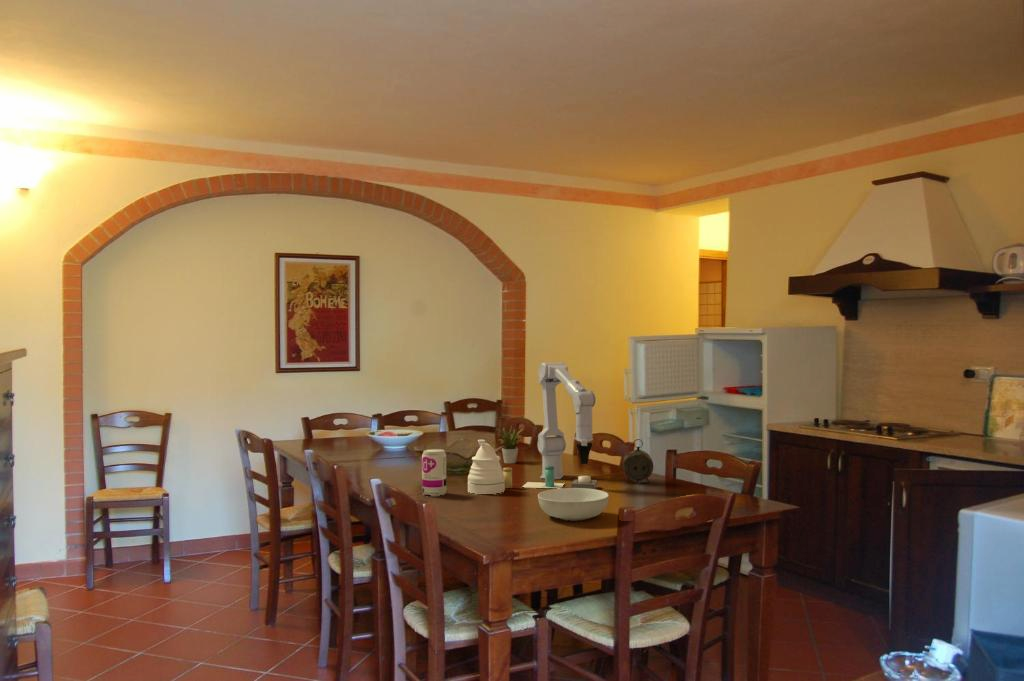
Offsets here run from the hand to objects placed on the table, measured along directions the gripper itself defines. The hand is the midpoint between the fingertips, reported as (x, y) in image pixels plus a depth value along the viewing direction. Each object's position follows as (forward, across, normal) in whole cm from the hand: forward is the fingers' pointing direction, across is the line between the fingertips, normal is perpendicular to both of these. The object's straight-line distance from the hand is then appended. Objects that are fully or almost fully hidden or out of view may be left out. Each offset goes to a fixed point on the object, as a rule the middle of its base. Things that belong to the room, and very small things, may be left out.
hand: (584, 463), depth 264 cm
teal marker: (+8, -2, -12) cm, 15 cm away
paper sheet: (+9, -4, -15) cm, 18 cm away
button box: (+9, 0, 0) cm, 9 cm away
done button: (+8, 0, 0) cm, 8 cm away
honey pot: (+9, +7, -34) cm, 36 cm away
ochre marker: (+9, +1, -27) cm, 29 cm away
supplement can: (+9, +14, -51) cm, 54 cm away
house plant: (+9, -56, -34) cm, 66 cm away
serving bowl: (+9, +44, -3) cm, 45 cm away
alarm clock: (+9, -12, +20) cm, 25 cm away
